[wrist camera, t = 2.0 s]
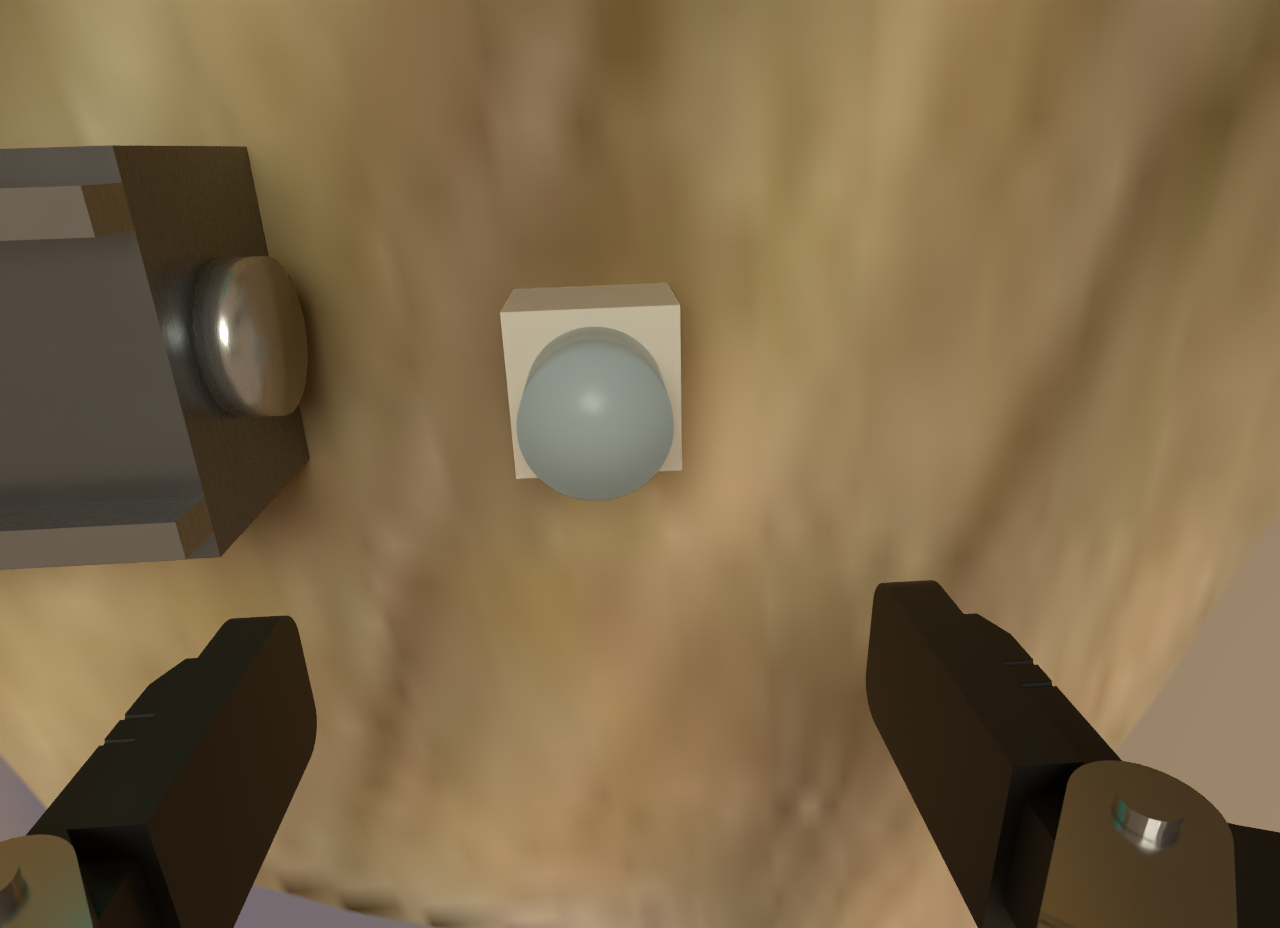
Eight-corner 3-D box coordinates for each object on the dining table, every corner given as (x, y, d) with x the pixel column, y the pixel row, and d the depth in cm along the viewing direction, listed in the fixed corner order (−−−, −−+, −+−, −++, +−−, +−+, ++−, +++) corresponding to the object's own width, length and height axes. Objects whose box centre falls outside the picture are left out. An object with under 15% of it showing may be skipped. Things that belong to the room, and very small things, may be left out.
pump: (667, 282, 26) (692, 327, 19) (669, 427, 27) (693, 512, 21) (513, 289, 25) (486, 336, 19) (526, 434, 27) (506, 522, 21)
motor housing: (286, 145, 23) (131, 143, 15) (344, 457, 27) (243, 583, 19) (-175, 160, 23) (-580, 166, 15) (-51, 476, 27) (-322, 615, 19)
